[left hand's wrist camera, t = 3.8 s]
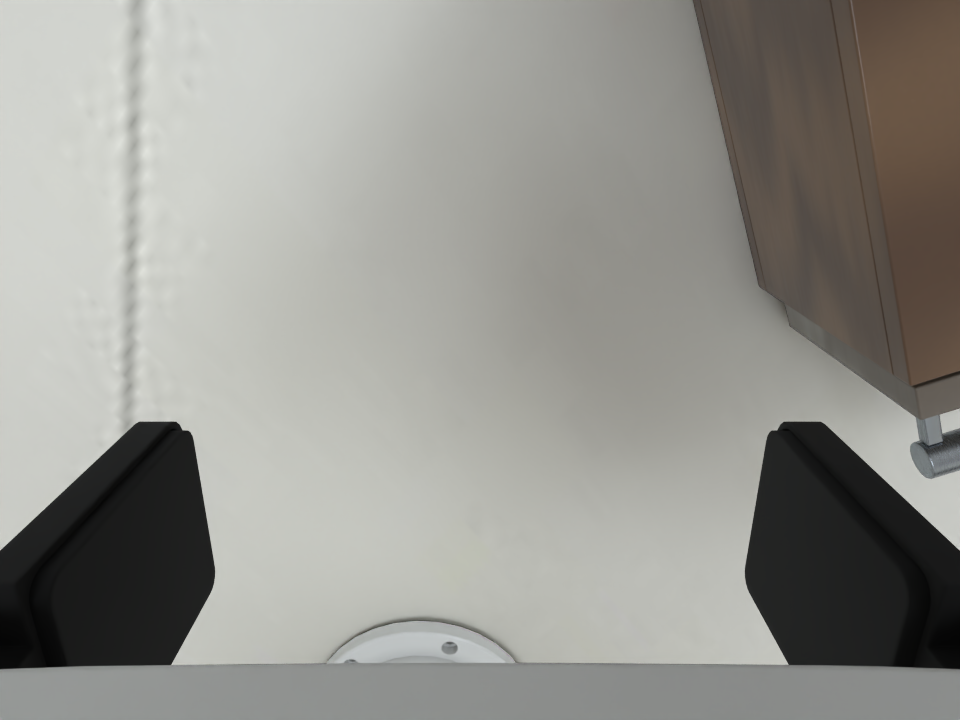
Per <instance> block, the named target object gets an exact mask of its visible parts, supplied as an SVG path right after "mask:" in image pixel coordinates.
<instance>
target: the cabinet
mask: <svg viewBox="0 0 960 720" xmlns="http://www.w3.org/2000/svg"><path fill="white" fill-rule="evenodd" d="M693 2H694V6H695V11H696V15H697V19H698V23H699V28H700V32H701V36H702V41H703V45H704V49H705V54H706V58H707V62H708V67H709V71H710V75H711V80H712V84H713V88H714V93H715V97H716V101H717V106H718V110H719V114H720V119H721V123H722V127H723V132H724V136H725V140H726V144H727V149H728V153H729V157H730V162H731V166H732V170H733V175H734V179H735V183H736V188H737V192H738V196H739V201H740V205H741V209H742V214H743V218H744V222H745V227H746V231H747V235H748V240H749V244H750V248H751V253H752V257H753V261H754V265H755V270H756V274H757V278H758V283H759V286H760V287H761V288H762V289H764V290H765V291H767V292H768V293H770V294H771V295H773V296H774V297H776V298H777V299H779V300H780V301H782V302H783V303H785V304H786V305H788V306H789V307H791V308H792V309H794V310H795V311H797V312H798V313H800V314H801V315H803V316H804V317H806V318H807V319H809V320H810V321H812V322H814V323H815V324H817V325H818V326H820V327H821V328H823V329H824V330H826V331H827V332H829V333H830V334H832V335H833V336H835V337H836V338H838V339H839V340H841V341H842V342H844V343H845V344H847V345H848V346H850V347H851V348H853V349H854V350H856V351H857V352H859V353H861V354H862V355H864V356H865V357H867V358H868V359H870V360H871V361H873V362H874V363H876V364H877V365H879V366H880V367H882V368H883V369H885V370H886V371H888V372H889V373H891V374H892V375H895V376H896V377H897V378H899V379H900V380H902V381H904V382H905V383H907V384H908V385H910V386H913V385H916V384H919V383H922V382H926V381H929V380H932V379H935V378H938V377H941V376H945V375H948V374H951V373H954V372H957V371H960V0H693Z"/></svg>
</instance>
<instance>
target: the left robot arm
mask: <svg viewBox="0 0 960 720" xmlns="http://www.w3.org/2000/svg"><path fill="white" fill-rule="evenodd" d="M214 579H215V566H214V560H213V554H212V548H211V542H210V536H209V530H208V524H207V518H206V512H205V506H204V500H203V494H202V488H201V482H200V476H199V470H198V464H197V458H196V452H195V446H194V441H193V437H192V434H191V433H190V432H189V431H182V428H181V427H180V425H179V424H178V423H177V422H138V423H136V424H135V425H134V426H133V427H132V428H131V429H130V430H129V431H127V432H126V433H125V434H124V435H123V436H122V437H121V438H120V439H119V440H118V441H117V442H116V443H115V444H114V445H113V446H112V447H110V448H109V449H108V450H107V451H106V452H105V453H104V454H103V455H102V456H101V457H100V458H99V459H98V460H97V461H96V462H94V463H93V464H92V465H91V466H90V467H89V468H88V469H87V470H86V471H85V472H84V473H83V474H82V475H81V476H80V477H78V478H77V479H76V480H75V481H74V482H73V483H72V484H71V485H70V486H69V487H68V488H67V489H66V490H65V491H64V492H62V493H61V494H60V495H59V496H58V497H57V498H56V499H55V500H54V501H53V502H52V503H51V504H50V505H49V506H48V507H46V508H45V509H44V510H43V511H42V512H41V513H40V514H39V515H38V516H37V517H36V518H35V519H34V520H33V521H32V522H30V523H29V524H28V525H27V526H26V527H25V528H24V529H23V530H22V531H21V532H20V533H19V534H18V535H17V536H16V537H14V538H13V539H12V540H11V541H10V542H9V543H8V544H7V545H6V546H5V547H4V548H3V549H2V550H1V551H0V720H960V551H959V550H958V549H957V548H956V547H955V546H954V545H953V544H952V543H951V542H950V541H949V540H948V539H947V538H946V537H944V536H943V535H942V534H941V533H940V532H939V531H938V530H937V529H936V528H935V527H934V526H933V525H932V524H931V523H930V522H928V521H927V520H926V519H925V518H924V517H923V516H922V515H921V514H920V513H919V512H918V511H917V510H916V509H915V508H914V507H912V506H911V505H910V504H909V503H908V502H907V501H906V500H905V499H904V498H903V497H902V496H901V495H900V494H899V493H898V492H896V491H895V490H894V489H893V488H892V487H891V486H890V485H889V484H888V483H887V482H886V481H885V480H884V479H883V478H882V477H880V476H879V475H878V474H877V473H876V472H875V471H874V470H873V469H872V468H871V467H870V466H869V465H868V464H867V463H866V462H864V461H863V460H862V459H861V458H860V457H859V456H858V455H857V454H856V453H855V452H854V451H853V450H852V449H851V448H850V447H849V446H847V445H846V444H845V443H844V442H843V441H842V440H841V439H840V438H839V437H838V436H837V435H836V434H835V433H834V432H833V431H831V430H830V429H829V428H828V427H827V426H826V425H825V424H824V423H822V422H783V423H782V424H781V425H780V427H779V428H778V431H771V432H770V433H769V434H768V437H767V441H766V446H765V452H764V458H763V464H762V470H761V476H760V482H759V488H758V494H757V500H756V506H755V512H754V518H753V524H752V530H751V536H750V542H749V548H748V554H747V560H746V566H745V579H746V584H747V588H748V591H749V593H750V595H751V597H752V598H753V600H754V602H755V604H756V606H757V607H758V609H759V611H760V613H761V615H762V617H763V618H764V620H765V622H766V624H767V626H768V628H769V629H770V631H771V633H772V635H773V637H774V638H775V640H776V642H777V644H778V646H779V648H780V649H781V651H782V653H783V655H784V657H785V659H786V660H787V662H788V664H789V665H728V664H617V663H516V662H515V661H514V659H513V658H512V657H511V656H510V655H509V654H508V653H507V652H505V651H504V650H503V649H502V648H501V647H500V646H498V645H497V644H496V643H494V642H492V641H491V640H489V639H487V638H486V637H484V636H482V635H481V634H479V633H476V632H473V631H471V630H468V629H465V628H463V627H460V626H456V625H451V624H446V623H441V622H430V621H409V622H400V623H393V624H389V625H385V626H381V627H378V628H374V629H372V630H370V631H367V632H365V633H363V634H361V635H359V636H357V637H355V638H353V639H352V640H351V641H349V642H348V643H346V644H345V645H343V646H342V647H341V648H339V650H338V651H337V652H336V653H335V654H334V655H333V656H332V657H331V658H330V659H329V660H328V661H327V663H320V664H232V665H171V664H172V662H173V660H174V659H175V657H176V655H177V653H178V651H179V649H180V648H181V646H182V644H183V642H184V640H185V638H186V637H187V635H188V633H189V631H190V629H191V628H192V626H193V624H194V622H195V620H196V618H197V617H198V615H199V613H200V611H201V609H202V607H203V606H204V604H205V602H206V600H207V598H208V597H209V595H210V593H211V591H212V588H213V584H214Z"/></svg>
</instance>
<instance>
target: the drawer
mask: <svg viewBox="0 0 960 720" xmlns="http://www.w3.org/2000/svg"><path fill="white" fill-rule="evenodd" d="M785 307H786V311H787V316H788V320H789V325H790V327H792V328H793V329H794V330H796V331H797V332H799V333H800V334H801V335H803V336H804V337H806V338H807V339H808V340H810V341H811V342H812V343H814V344H815V345H817V346H818V347H819V348H821V349H822V350H824V351H825V352H826V353H828V354H829V355H831V356H832V357H833V358H835V359H836V360H837V361H839V362H840V363H842V364H843V365H844V366H846V367H847V368H849V369H850V370H851V371H853V372H854V373H855V374H857V375H858V376H860V377H861V378H862V379H864V380H865V381H867V382H868V383H869V384H871V385H872V386H873V387H875V388H876V389H878V390H879V391H880V392H882V393H883V394H885V395H886V396H887V397H889V398H890V399H891V400H893V401H894V402H896V403H897V404H898V405H900V406H901V407H903V408H904V409H905V410H907V411H908V412H910V413H911V414H912V415H914V416H915V417H916V421H917V428H918V434H919V439H920V441H917V442H914V443H912V444H911V446H910V452H911V456H912V459H913V462H914V464H915V466H916V467H917V469H918V470H919V471H920V473H921V474H922V475H923V476H925V477H926V478H930V479H932V478H935V477H939V476H942V475H945V474H949V473H952V472H956V471H959V470H960V428H959V429H956V430H953V431H949V432H946V433H943V434H942V429H941V423H940V416H939V415H940V414H943V413H946V412H949V411H952V410H956V409H959V408H960V371H957V372H954V373H951V374H948V375H945V376H941V377H938V378H935V379H932V380H929V381H926V382H922V383H919V384H916V385H913V386H910V385H908V384H907V383H905V382H904V381H902V380H900V379H899V378H897V377H896V376H895V375H892V374H891V373H889V372H888V371H886V370H885V369H883V368H882V367H880V366H879V365H877V364H876V363H874V362H873V361H871V360H870V359H868V358H867V357H865V356H864V355H862V354H861V353H859V352H857V351H856V350H854V349H853V348H851V347H850V346H848V345H847V344H845V343H844V342H842V341H841V340H839V339H838V338H836V337H835V336H833V335H832V334H830V333H829V332H827V331H826V330H824V329H823V328H821V327H820V326H818V325H817V324H815V323H814V322H812V321H810V320H809V319H807V318H806V317H804V316H803V315H801V314H800V313H798V312H797V311H795V310H794V309H792V308H791V307H789V306H788V305H786V304H785Z"/></svg>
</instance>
